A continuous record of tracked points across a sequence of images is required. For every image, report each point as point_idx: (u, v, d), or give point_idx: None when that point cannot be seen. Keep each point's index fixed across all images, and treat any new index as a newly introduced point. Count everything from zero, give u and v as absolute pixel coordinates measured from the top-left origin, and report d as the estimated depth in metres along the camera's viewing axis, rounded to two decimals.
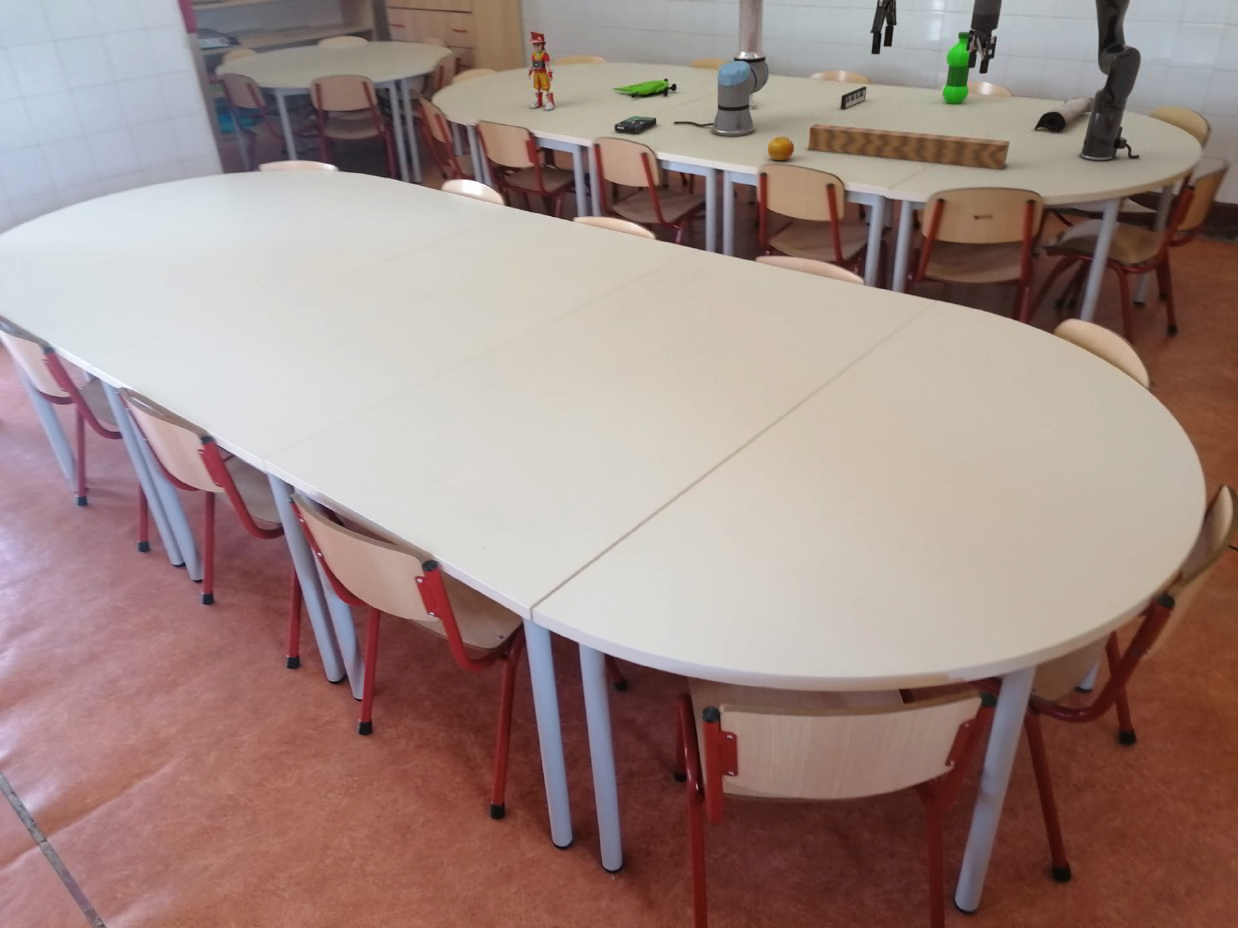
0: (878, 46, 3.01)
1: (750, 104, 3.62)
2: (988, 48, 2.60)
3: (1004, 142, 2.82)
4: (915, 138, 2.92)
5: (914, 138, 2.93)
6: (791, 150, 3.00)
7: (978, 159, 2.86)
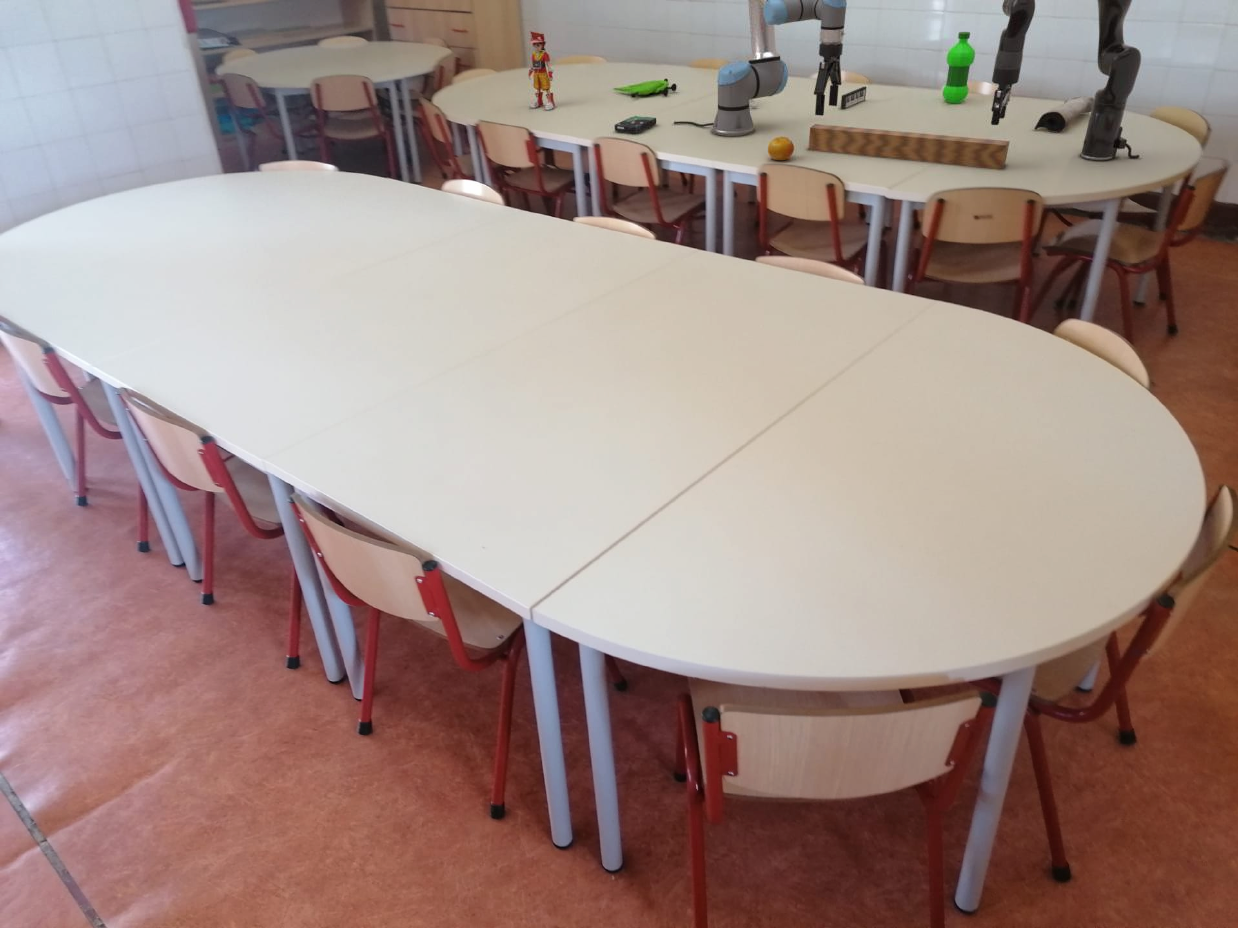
0: (821, 107, 2.98)
1: (750, 104, 3.62)
2: (994, 101, 2.71)
3: (1004, 142, 2.82)
4: (915, 138, 2.92)
5: (914, 138, 2.93)
6: (791, 150, 3.00)
7: (978, 159, 2.86)
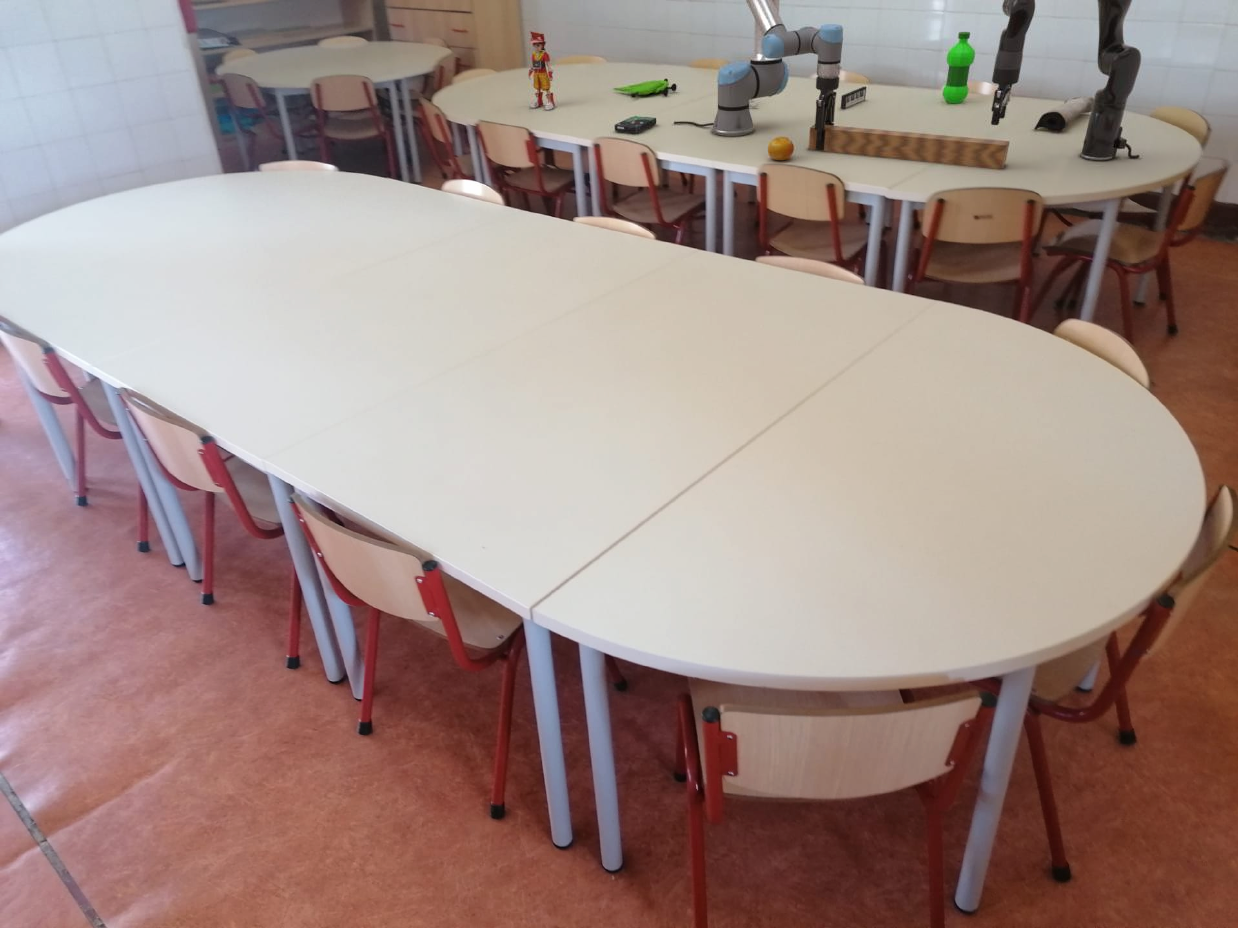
0: (822, 142, 3.08)
1: (750, 104, 3.62)
2: (994, 101, 2.71)
3: (1004, 142, 2.82)
4: (915, 138, 2.92)
5: (914, 138, 2.93)
6: (791, 150, 3.00)
7: (978, 159, 2.86)
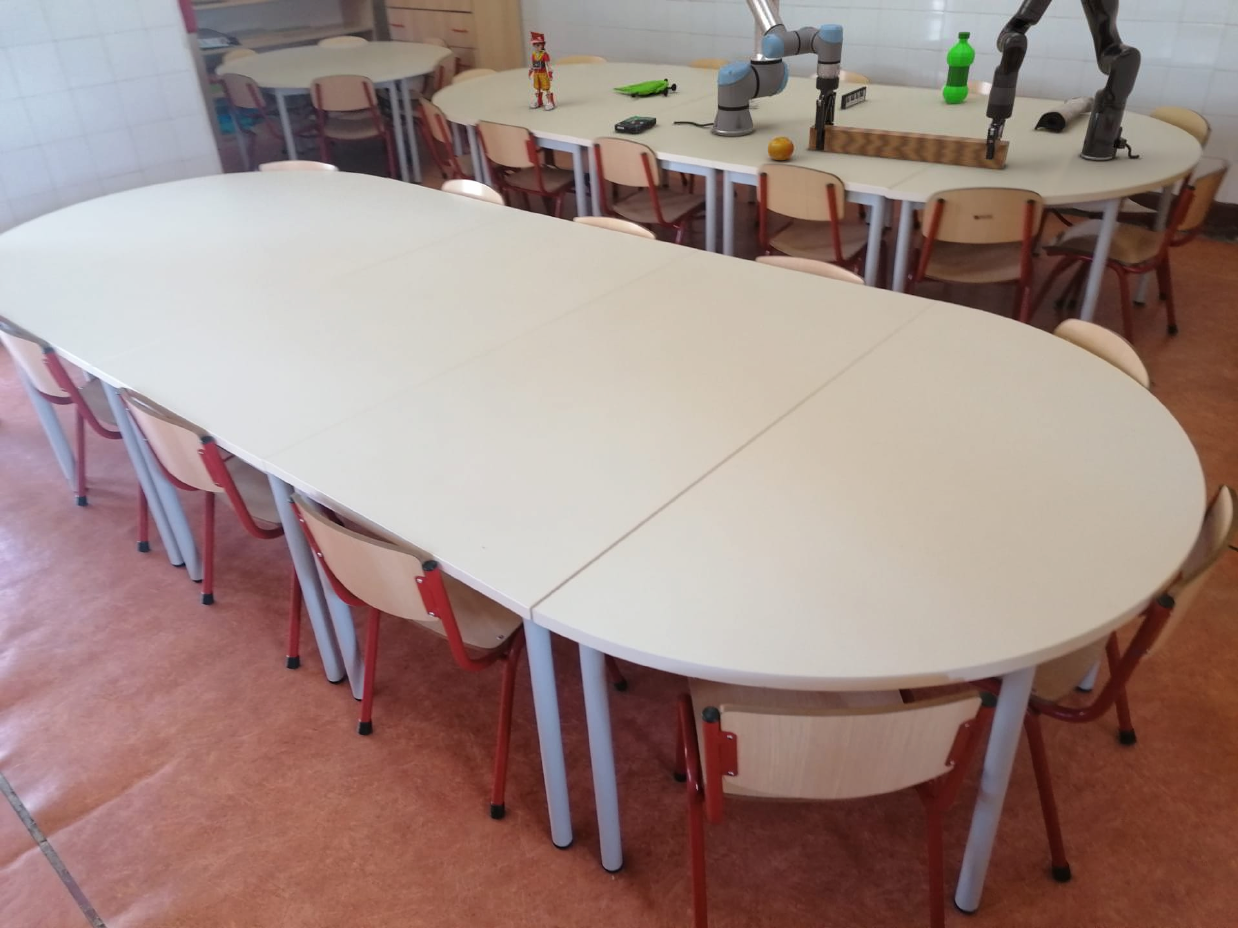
0: (822, 142, 3.08)
1: (750, 104, 3.62)
2: (988, 138, 2.78)
3: (1004, 142, 2.82)
4: (915, 138, 2.92)
5: (914, 138, 2.93)
6: (791, 150, 3.00)
7: (978, 159, 2.86)
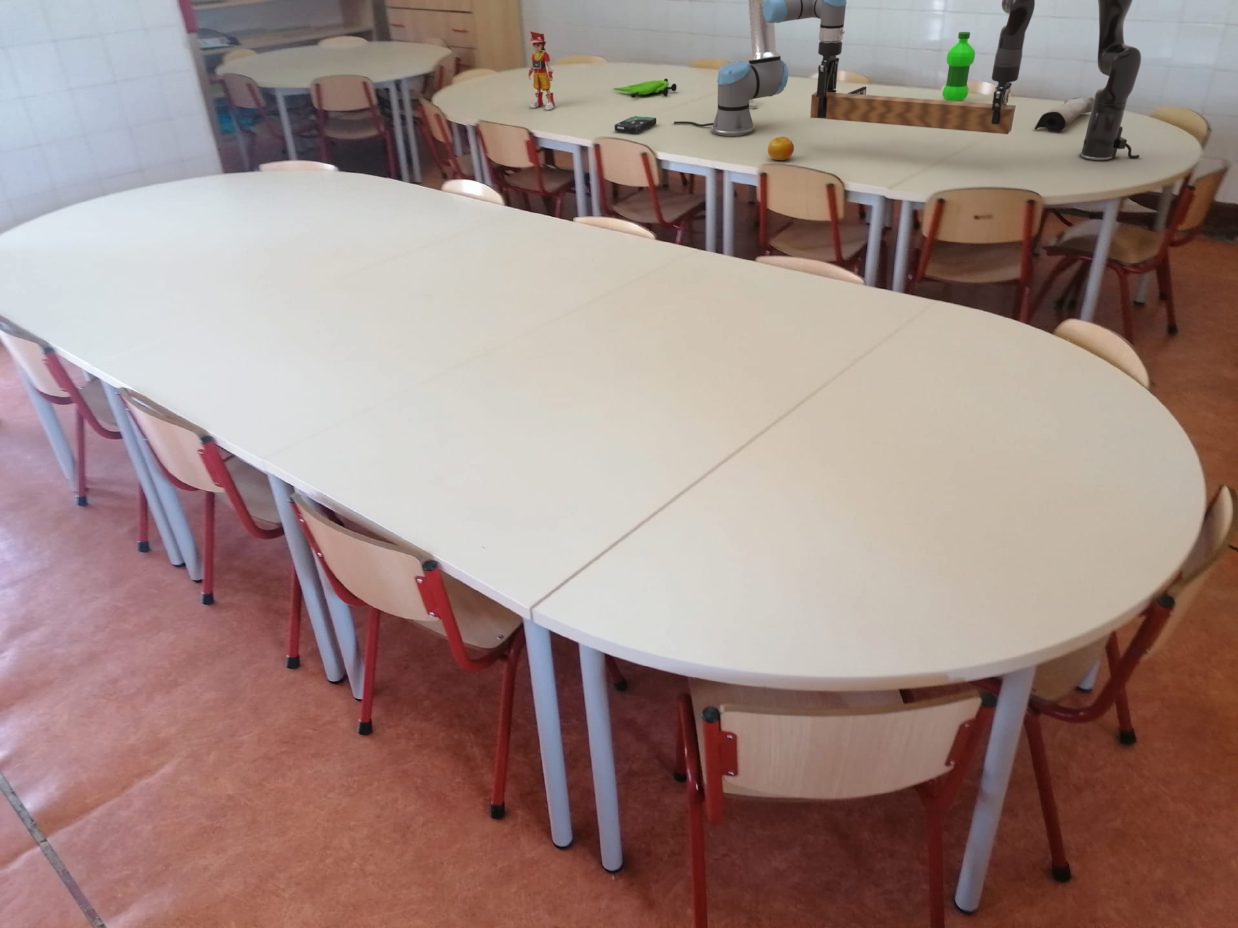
0: (824, 110, 3.02)
1: (750, 104, 3.62)
2: (994, 102, 2.72)
3: (1010, 106, 2.76)
4: (919, 104, 2.87)
5: (918, 103, 2.87)
6: (791, 150, 3.00)
7: (984, 124, 2.80)
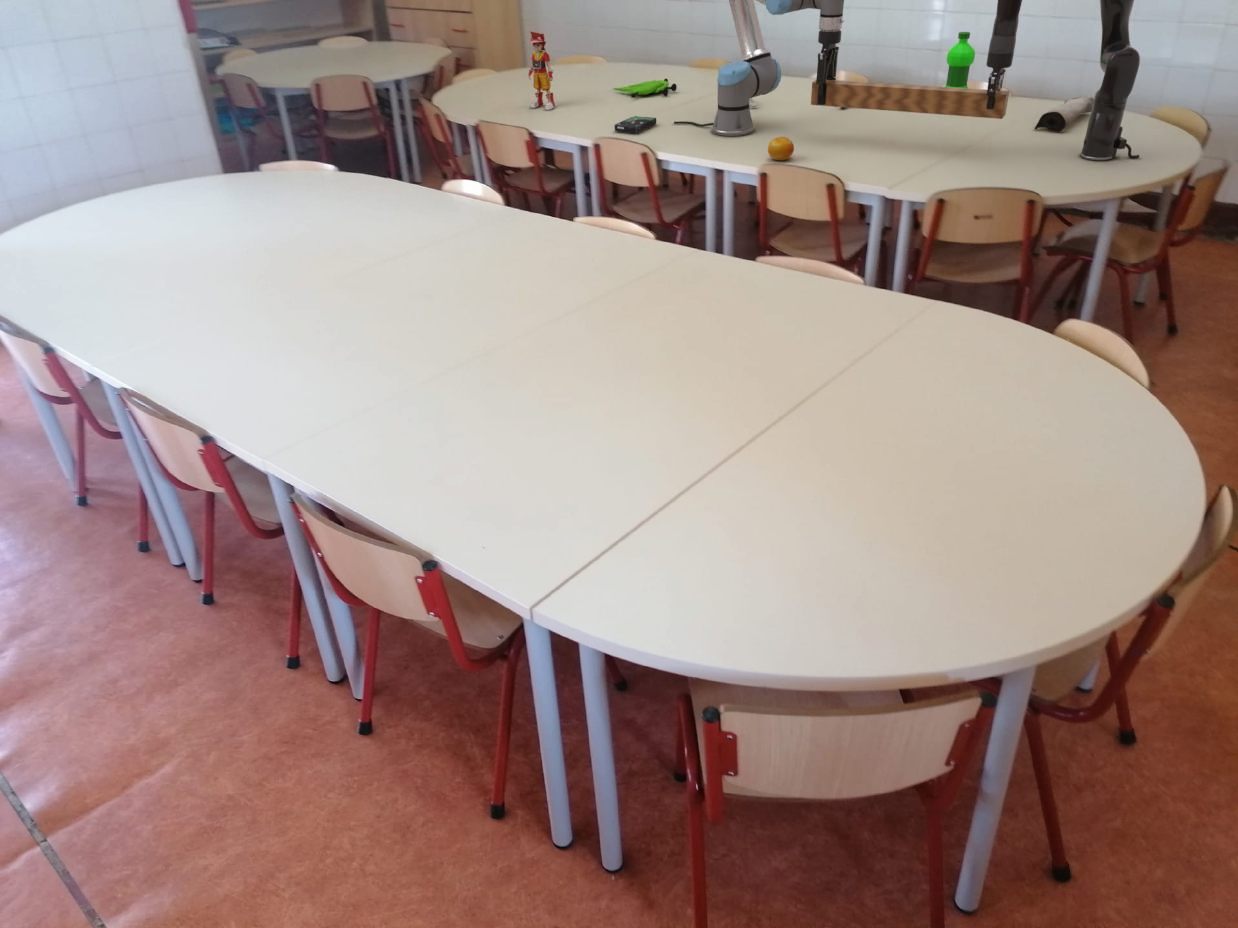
0: (823, 97, 3.12)
1: (750, 104, 3.62)
2: (988, 87, 2.82)
3: (1004, 92, 2.86)
4: (916, 90, 2.96)
5: (915, 90, 2.96)
6: (791, 150, 3.00)
7: (979, 109, 2.90)
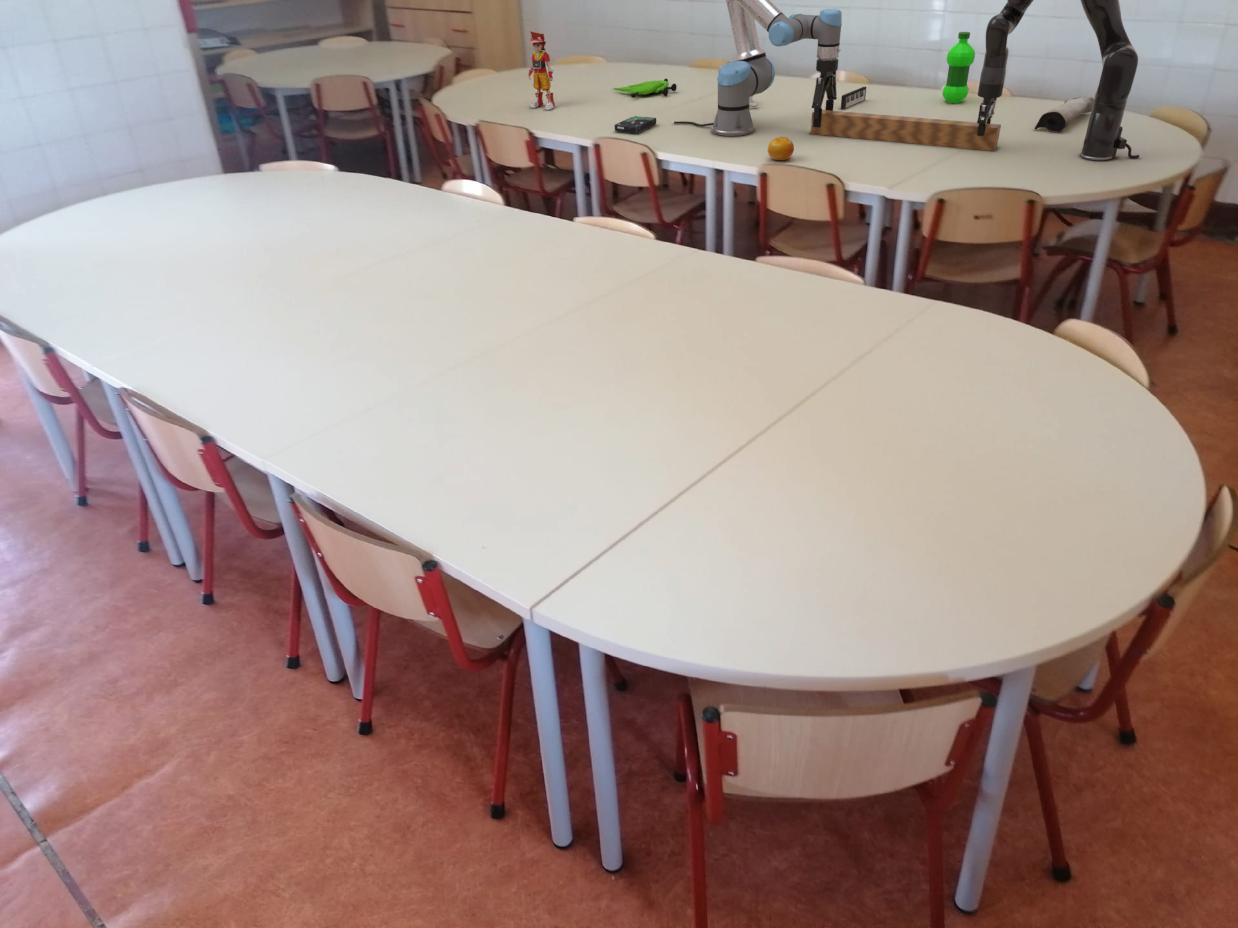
0: (819, 120, 3.20)
1: (750, 104, 3.62)
2: (979, 114, 2.93)
3: (996, 125, 2.98)
4: (912, 122, 3.08)
5: (911, 122, 3.08)
6: (791, 150, 3.00)
7: (971, 142, 3.02)
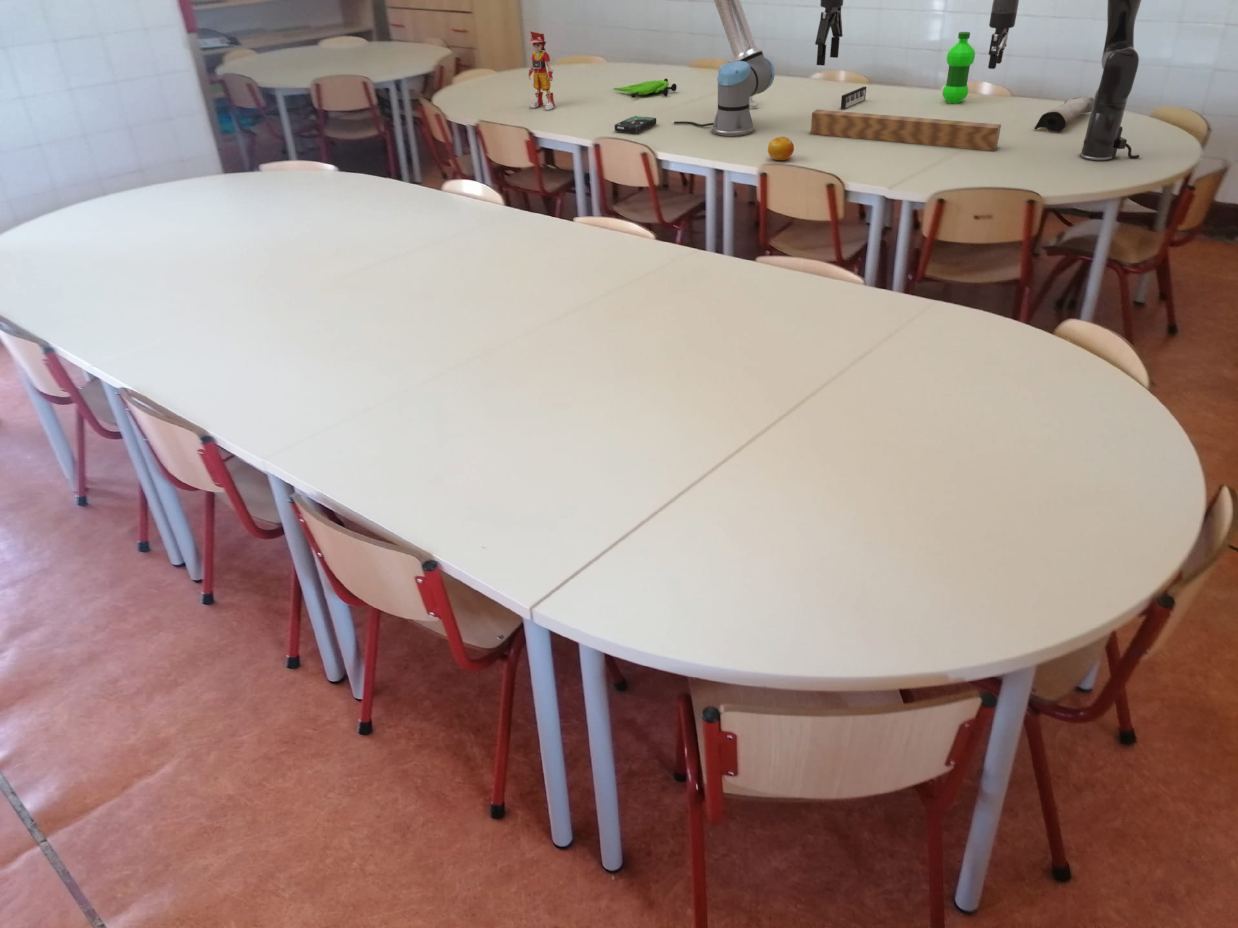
0: (823, 57, 3.08)
1: (750, 104, 3.62)
2: (991, 45, 2.80)
3: (996, 125, 2.98)
4: (912, 122, 3.08)
5: (911, 122, 3.08)
6: (791, 150, 3.00)
7: (971, 142, 3.02)
